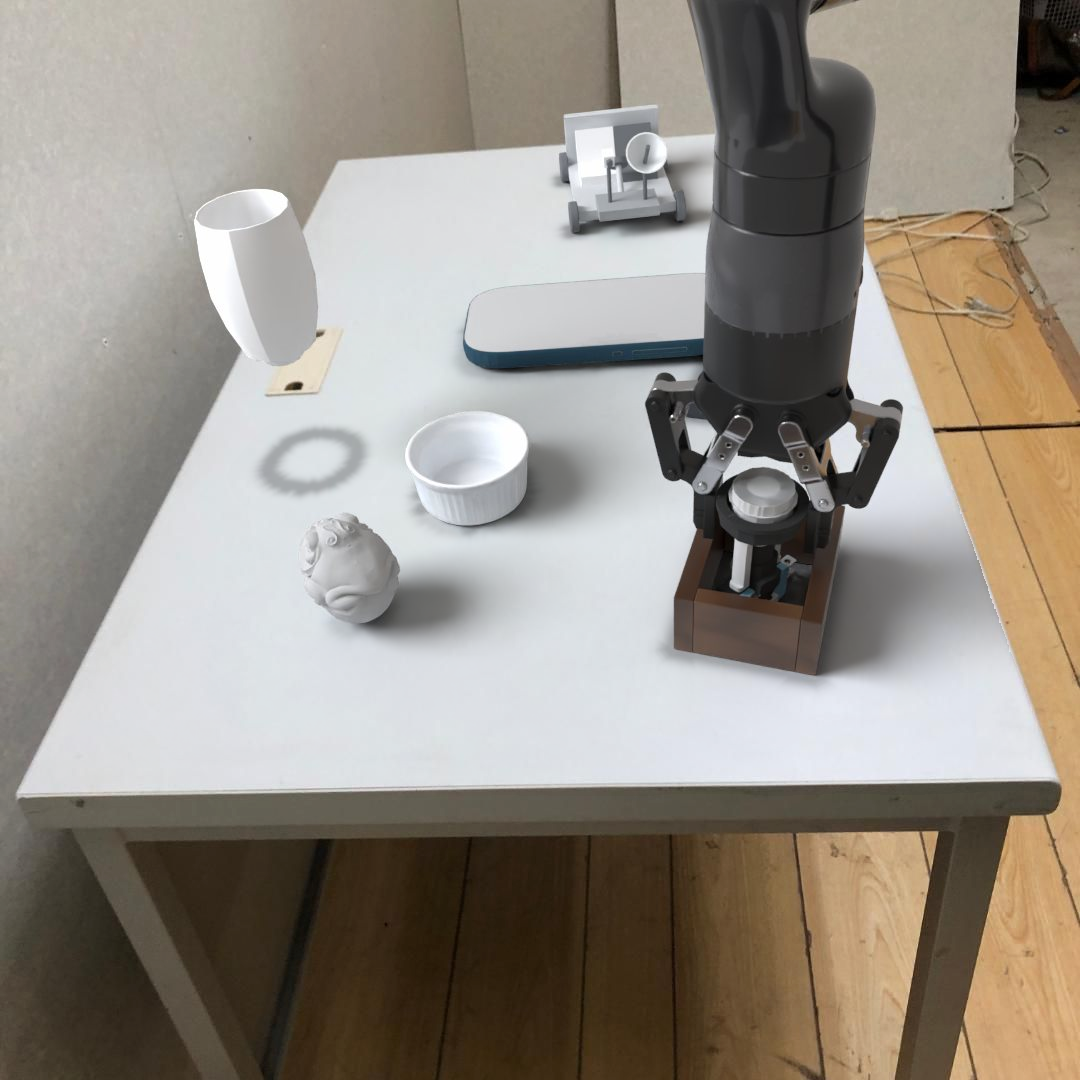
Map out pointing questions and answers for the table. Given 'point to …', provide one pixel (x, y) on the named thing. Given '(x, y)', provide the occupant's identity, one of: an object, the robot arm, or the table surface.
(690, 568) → the holder
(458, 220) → the table surface
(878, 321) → the table surface
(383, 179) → the table surface
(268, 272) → the cup
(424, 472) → the ramekin
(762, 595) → the push button
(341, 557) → the frog figurine
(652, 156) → the toy car
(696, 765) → the table surface
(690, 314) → the external hard drive
